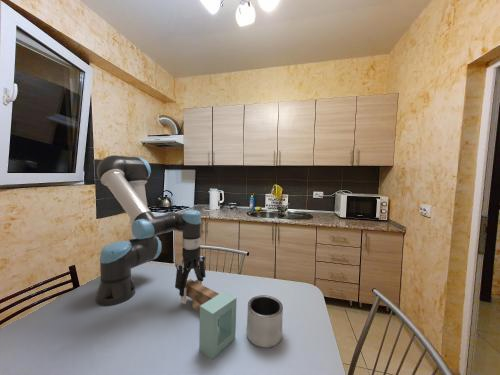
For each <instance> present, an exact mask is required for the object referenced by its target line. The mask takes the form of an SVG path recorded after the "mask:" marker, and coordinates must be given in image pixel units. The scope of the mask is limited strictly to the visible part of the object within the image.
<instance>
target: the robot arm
mask: <svg viewBox="0 0 500 375" xmlns="http://www.w3.org/2000/svg"><path fill="white" fill-rule="evenodd" d="M151 173H152V170H151V165H150V164H149V162H148V161H147V160H146V159H144V158H143V157H138V156H125V155H116V154H115V155H112V154H111V155H109V156H108V155H107V156H105V157H104V158H103V159H102V160H100V161H99V163H98V165H97V168H96V174H97V175H96V176H97V178H98V180H99V182H101V184H102V185H104V186H106V187H107V189H109V190H110V192H111V193H112V195H113V196H114V198H115V199H116V201H117V202H118V203H119V205H120V206H121V207H122V209H123V210H124V212H125V213H126V214H127V216H128V217H129V221H130V228H131V230H130V231H131V236H130V237H129V239H128V240H129V241H128V240H121V241H115V242H112V243H110V244H108V245H106V246H104V247H103V248H102V249H101V250H100V256H99V264H100V267H99V270H100V283H99V286H98V288H97V291H96V294H95V302H96V303H97V304H98V305H100V306H113V305H117V304H118V305H119V304H121V303H124V302H127V301H128V300H129V299H131V298H132V297H133V296H134V295H135V294H136V284H135V282H134V279H133V277H132V269H133V268H135V267H138V266H141V265H143V264H146V263H150V262H152V261H154V260H155V259H157V258H159V256H160V254H161V253H162V241H161V240H160V238H159V237H158V235H162V234H167V233H170V232H174V231H176V232H182V245H181V247H182V251H181V252H182V253H181V254H182V255H181V256H182V261H181V263H176V265H175V268H176V273H175V274H176V275H175V281H174V282H175V285H174V287H175V289H176V290H179V296H180V303H182V304H184V305H186V304H187V296H186V288H185V285H186V282H187V280H188V278H189V274H190V273H191V270H192V269H193V271H194V275H195V277H196V279H195V280H194V281H195V282H197V283H199V284H201V285H203V284H202V282H203V281H204V278H206V267H205V266H206V265H205V262H206V257H205V255H204V256H203V255H201V250H202V249H201V244H202V243H201V242H202V241H201V239H202V238H201V237H202V236H201V234H202V231H201V230H202V229H201V228H202V213H201V212H200V211H199V210H196V209H194V210H192V209H191V210H185V211H183V212H182V213H178V212H174V211H173V212H172V211H168V212H165V213H163V214H162V215H157V216H155V215H154V214H153V212H152V211H151V210H150V208H148V200H147V195H146V194H147V193H146V187H145V185H146V184H147V183H148V179H149V178H150V176H151Z"/></svg>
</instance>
